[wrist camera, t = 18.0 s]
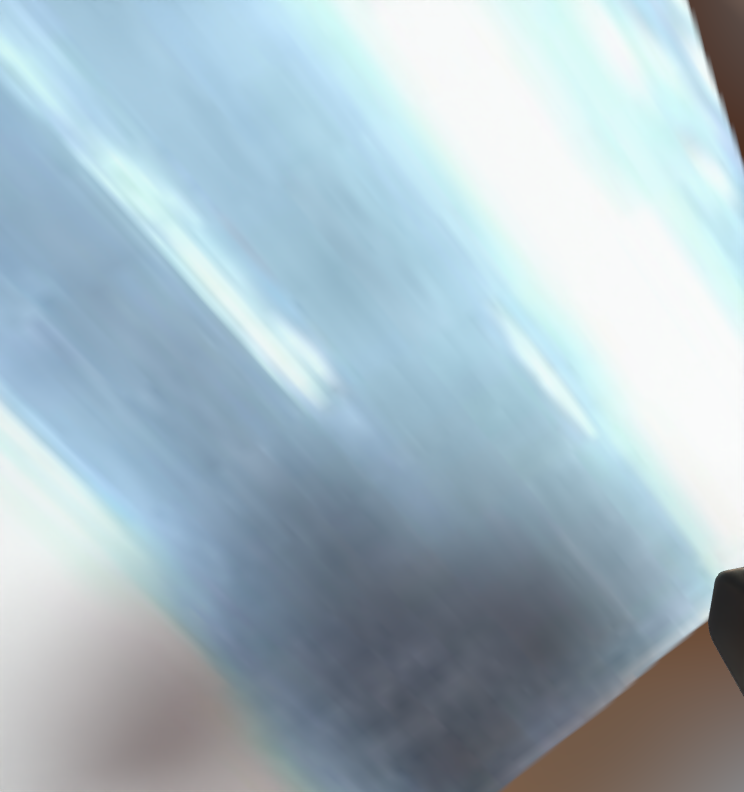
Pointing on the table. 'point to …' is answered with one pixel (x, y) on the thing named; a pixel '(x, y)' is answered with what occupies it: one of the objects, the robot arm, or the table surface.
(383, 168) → the table surface
